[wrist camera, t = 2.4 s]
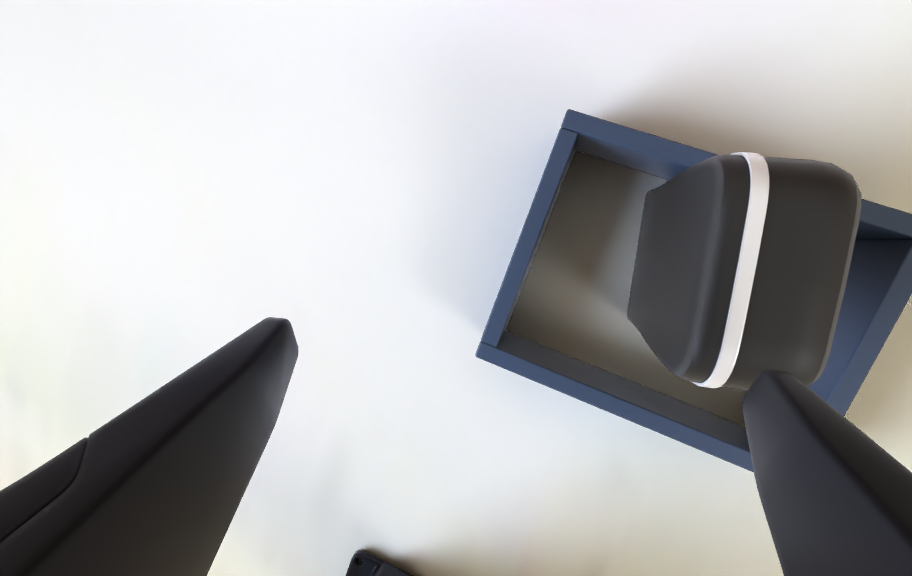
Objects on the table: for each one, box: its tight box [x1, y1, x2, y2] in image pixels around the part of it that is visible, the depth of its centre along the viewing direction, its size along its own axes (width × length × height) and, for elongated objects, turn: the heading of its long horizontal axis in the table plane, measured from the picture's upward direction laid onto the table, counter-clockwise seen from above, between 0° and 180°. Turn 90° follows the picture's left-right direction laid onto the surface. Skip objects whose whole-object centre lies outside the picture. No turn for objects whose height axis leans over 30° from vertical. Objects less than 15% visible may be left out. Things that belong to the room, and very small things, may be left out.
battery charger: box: [627, 152, 861, 391], centre depth 17 cm, size 7×4×11 cm, turn 174°
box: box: [475, 109, 912, 472], centre depth 21 cm, size 12×15×4 cm
